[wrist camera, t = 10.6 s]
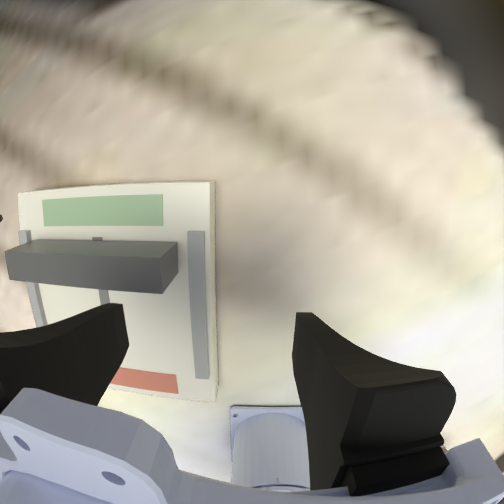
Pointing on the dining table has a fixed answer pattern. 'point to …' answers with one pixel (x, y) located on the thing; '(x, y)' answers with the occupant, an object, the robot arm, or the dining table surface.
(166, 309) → the panel
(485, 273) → the dining table surface
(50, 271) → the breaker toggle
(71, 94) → the dining table surface
